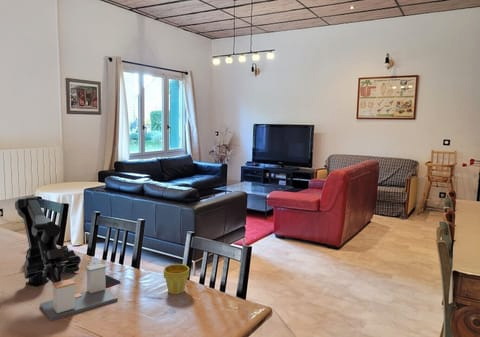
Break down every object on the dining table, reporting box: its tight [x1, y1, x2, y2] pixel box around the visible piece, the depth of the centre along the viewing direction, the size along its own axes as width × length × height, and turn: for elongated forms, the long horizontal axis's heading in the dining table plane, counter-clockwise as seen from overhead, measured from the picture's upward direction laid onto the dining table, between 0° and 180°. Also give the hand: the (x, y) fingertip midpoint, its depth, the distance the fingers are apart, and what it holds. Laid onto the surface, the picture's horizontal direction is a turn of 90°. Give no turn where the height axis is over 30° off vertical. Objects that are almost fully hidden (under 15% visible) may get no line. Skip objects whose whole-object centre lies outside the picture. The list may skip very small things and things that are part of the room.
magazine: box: [25, 247, 80, 273], centre depth 175 cm, size 17×3×30 cm
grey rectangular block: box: [85, 263, 107, 293], centre depth 150 cm, size 4×6×10 cm
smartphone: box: [105, 274, 121, 289], centre depth 164 cm, size 7×1×15 cm
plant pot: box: [163, 263, 190, 295], centre depth 155 cm, size 10×10×10 cm
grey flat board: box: [39, 288, 119, 321], centre depth 142 cm, size 13×24×2 cm, turn 133°
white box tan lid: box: [51, 278, 76, 313], centre depth 134 cm, size 4×6×10 cm
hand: (58, 287), depth 138 cm, fingers closed
